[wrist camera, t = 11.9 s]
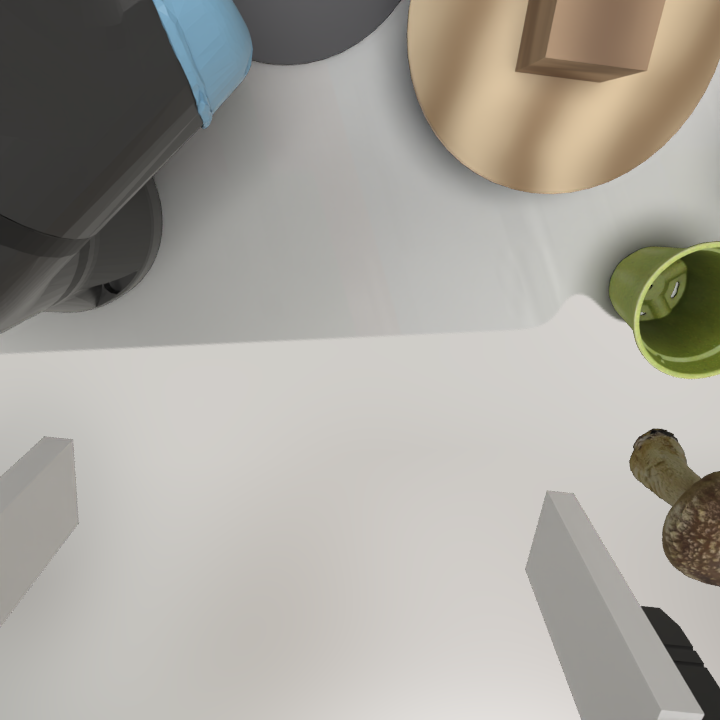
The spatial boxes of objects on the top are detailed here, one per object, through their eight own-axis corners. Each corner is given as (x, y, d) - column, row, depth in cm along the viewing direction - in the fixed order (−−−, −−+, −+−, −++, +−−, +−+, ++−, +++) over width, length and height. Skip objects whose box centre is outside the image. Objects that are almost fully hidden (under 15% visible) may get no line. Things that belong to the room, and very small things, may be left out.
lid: (387, 174, 36) (392, 181, 30) (433, -185, 30) (452, -280, 23) (664, 208, 37) (731, 223, 30) (767, -137, 31) (880, -216, 24)
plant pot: (606, 215, 44) (660, 231, 36) (724, 232, 44) (805, 253, 36) (573, 330, 47) (616, 369, 39) (683, 346, 48) (748, 387, 40)
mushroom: (584, 412, 50) (669, 517, 36) (684, 381, 49) (813, 477, 35) (605, 499, 53) (692, 627, 39) (700, 471, 52) (825, 594, 38)
